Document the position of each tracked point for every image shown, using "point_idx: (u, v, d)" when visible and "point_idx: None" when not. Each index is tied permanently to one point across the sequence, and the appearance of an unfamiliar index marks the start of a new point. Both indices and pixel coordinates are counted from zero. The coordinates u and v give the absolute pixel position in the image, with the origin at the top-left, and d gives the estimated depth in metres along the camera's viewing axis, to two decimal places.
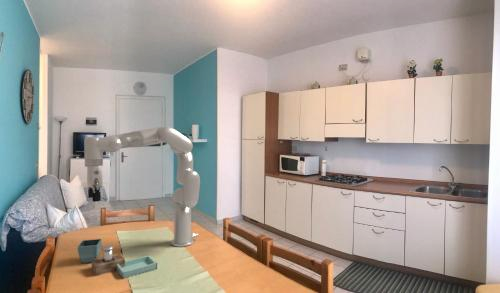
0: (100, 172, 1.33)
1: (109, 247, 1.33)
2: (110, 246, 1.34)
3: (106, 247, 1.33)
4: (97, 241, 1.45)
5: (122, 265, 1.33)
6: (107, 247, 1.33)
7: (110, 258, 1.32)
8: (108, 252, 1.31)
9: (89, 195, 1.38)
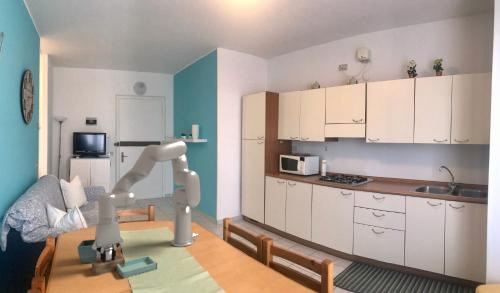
0: None
1: (109, 247, 1.33)
2: (110, 246, 1.34)
3: (106, 247, 1.33)
4: None
5: (122, 265, 1.33)
6: (107, 247, 1.33)
7: (110, 258, 1.32)
8: (108, 252, 1.31)
9: (104, 258, 1.31)
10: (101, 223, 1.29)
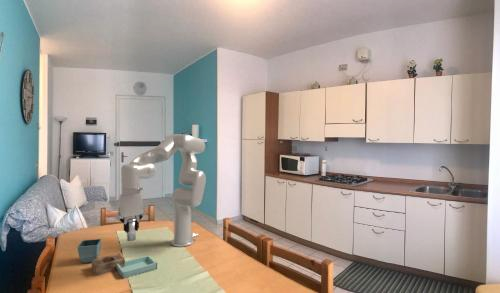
0: None
1: (132, 218, 1.32)
2: (133, 218, 1.33)
3: (129, 218, 1.32)
4: (97, 241, 1.45)
5: (122, 265, 1.33)
6: (130, 218, 1.32)
7: (133, 229, 1.31)
8: (131, 224, 1.31)
9: (127, 229, 1.30)
10: (124, 194, 1.28)
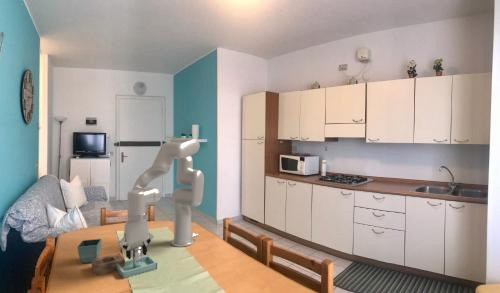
0: None
1: (138, 246, 1.32)
2: (139, 245, 1.33)
3: (135, 246, 1.32)
4: (97, 241, 1.45)
5: (122, 265, 1.33)
6: (136, 246, 1.32)
7: (139, 257, 1.32)
8: (137, 252, 1.31)
9: (130, 256, 1.29)
10: (130, 220, 1.28)
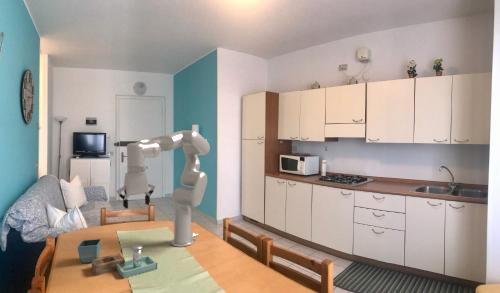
0: None
1: (138, 246, 1.32)
2: (139, 245, 1.33)
3: (135, 246, 1.32)
4: (97, 241, 1.45)
5: (122, 265, 1.33)
6: (136, 246, 1.32)
7: (139, 257, 1.32)
8: (138, 252, 1.31)
9: (127, 205, 1.31)
10: (130, 171, 1.30)
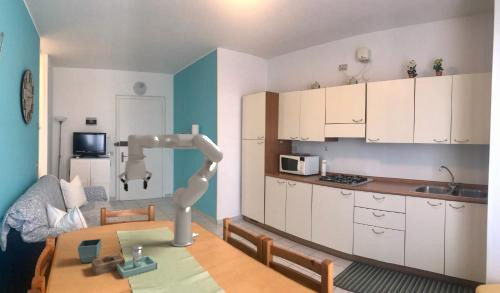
0: None
1: (138, 246, 1.32)
2: (139, 245, 1.33)
3: (135, 246, 1.32)
4: (97, 241, 1.45)
5: (122, 265, 1.33)
6: (136, 246, 1.32)
7: (139, 257, 1.32)
8: (138, 252, 1.31)
9: (127, 189, 1.50)
10: (130, 159, 1.49)
